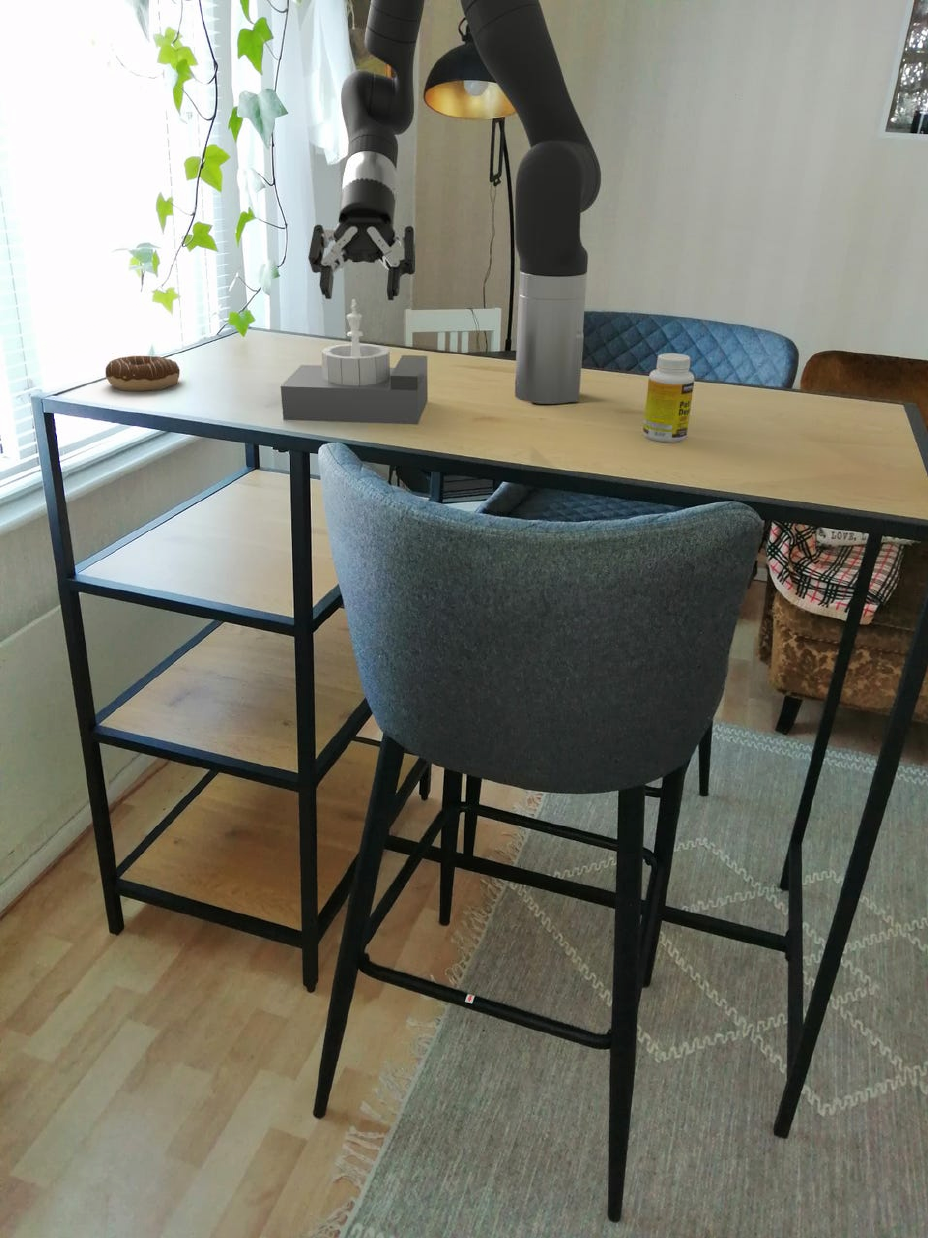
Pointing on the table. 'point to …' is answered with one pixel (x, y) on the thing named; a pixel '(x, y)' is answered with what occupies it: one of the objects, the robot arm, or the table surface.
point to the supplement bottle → (669, 399)
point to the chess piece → (354, 330)
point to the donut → (142, 373)
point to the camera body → (357, 388)
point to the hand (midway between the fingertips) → (358, 295)
